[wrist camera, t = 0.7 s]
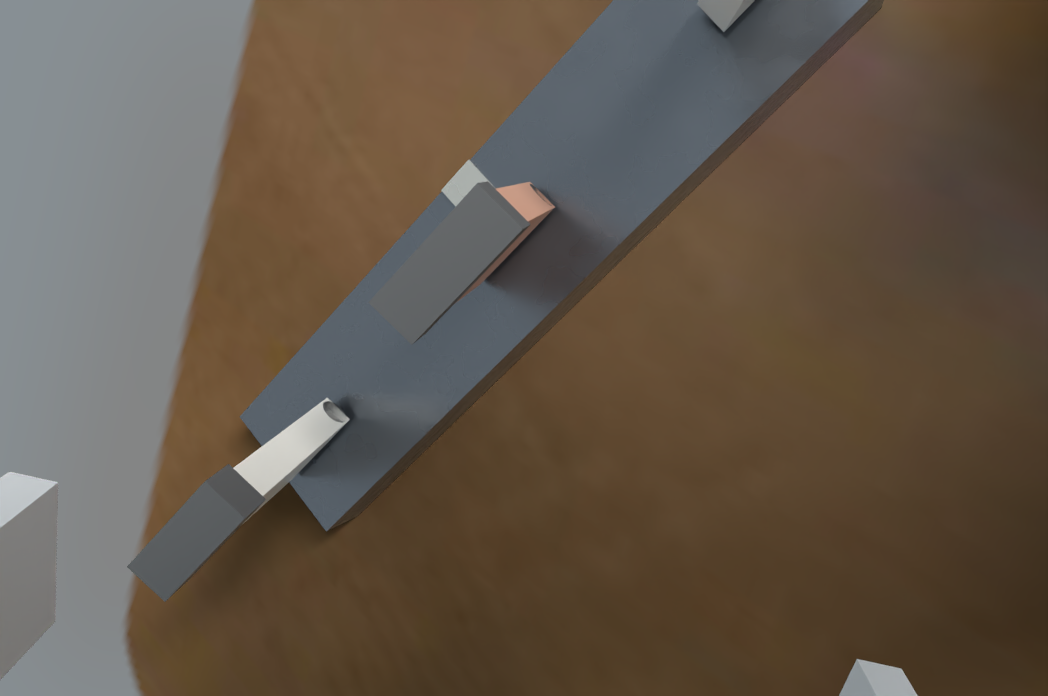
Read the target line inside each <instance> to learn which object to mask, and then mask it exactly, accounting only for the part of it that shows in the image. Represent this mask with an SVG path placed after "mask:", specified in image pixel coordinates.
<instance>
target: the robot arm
mask: <svg viewBox="0 0 1048 696" xmlns="http://www.w3.org/2000/svg"><path fill="white" fill-rule="evenodd" d="M57 509H58V482H54V481H49V480H45V479H40V478H35V477H31V476H26V475H22V474H17V473H13V472H8V473H7V474H5V475H4V476H2V477H1V478H0V680H1V679H2V678H3V677H4V676H5V674H6V673H7V672H8V671H9V670H10V669H11V668H12V667H13V666H14V665H15V664H16V663H17V662H18V661H19V660H20V659H21V657H22V656H23V655H24V654H25V653H26V652H27V651H28V650H29V649H30V648H31V647H32V646H33V645H34V644H35V643H36V642H37V641H38V639H39V638H40V637H41V636H42V635H43V634H44V633H45V632H46V631H47V630H48V629H49V628H50V627H51V626H52V625H53V624H54V622H55V607H56V559H57V557H56V556H57ZM839 696H917V694H916V692H915V690H914V689H913V687H912V685H911V684H910V682H909V680H908V679H907V677H906V675H905V674H904V672H903V670H902V669H901V668H896V667H891V666H887V665H882V664H878V663H873V662H869V661H864V660H860V659H857V660H856V662H855V664H854V666H853V668H852V670H851V672H850V674H849V676H848V678H847V680H846V682H845V684H844V687H843V689H842V691H841V693H840V695H839Z"/></svg>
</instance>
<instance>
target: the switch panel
mask: <svg viewBox="0 0 1048 696" xmlns="http://www.w3.org/2000/svg"><path fill="white" fill-rule="evenodd" d="M883 1H884V0H755V1H754V2H753V3H752V4H751V5H750V6H749V7H748V8H747V9H746V10H745V11H744V12H743V13H742V14H741V15H740V16H739V17H738V18H737V19H736V20H735V21H734V22H733V24H732V25H731V26H730V27H729V28H728V29H727V30H726V31H725V32H723V31H722V30H721V29H720V28H719V27H718V26H717V25H716V24H715V23H714V22H713V21H712V20H711V19H710V18H709V17H708V16H707V15H706V14H705V13H704V11H703V10H702V9H701V8H700V7H699V6H698V5H697V3H698V0H613V1H612V2H611V4H610V5H609V6H608V7H607V8H606V9H605V10H604V11H603V12H602V14H601V15H600V16H599V17H598V18H597V19H596V20H595V21H594V23H593V24H592V25H591V26H590V27H589V28H588V29H587V30H586V31H585V33H584V34H583V35H582V36H581V37H580V38H579V39H578V40H577V41H576V43H575V44H574V45H573V46H572V47H571V48H570V49H569V50H568V51H567V53H566V54H565V55H564V56H563V57H562V58H561V59H560V60H559V62H558V63H557V64H556V65H555V66H554V67H553V68H552V69H551V70H550V72H549V73H548V74H547V75H546V76H545V77H544V78H543V79H542V80H541V82H540V83H539V84H538V85H537V86H536V87H535V88H534V89H533V90H532V92H531V93H530V94H529V95H528V96H527V97H526V98H525V99H524V101H523V102H522V103H521V104H520V105H519V106H518V107H517V108H516V109H515V111H514V112H513V113H512V114H511V115H510V116H509V117H508V118H507V119H506V121H505V122H504V123H503V124H502V125H501V126H500V127H499V128H498V129H497V131H496V132H495V133H494V134H493V135H492V136H491V137H490V138H489V140H488V141H487V142H486V143H485V144H484V145H483V146H482V147H481V148H480V150H479V151H478V152H477V153H476V154H475V155H474V156H473V157H472V158H471V160H468V161H467V162H466V163H465V164H464V165H463V166H462V168H461V169H460V170H459V171H458V172H457V173H456V174H455V175H454V177H453V178H452V179H451V180H450V181H449V182H448V183H447V184H446V185H445V187H444V188H443V189H442V190H441V191H442V192H441V193H440V194H439V195H438V196H437V197H436V199H435V200H434V201H433V202H432V203H431V204H430V205H429V206H428V207H427V209H426V210H425V211H424V212H423V213H422V214H421V215H420V216H419V218H418V219H417V220H416V221H415V222H414V223H413V224H412V225H411V226H410V228H409V229H408V230H407V231H406V232H405V233H404V234H403V235H402V236H401V238H400V239H399V240H398V241H397V242H396V243H395V244H394V245H393V246H392V248H391V249H390V250H389V251H388V252H387V253H386V254H385V255H384V257H383V258H382V259H381V260H380V261H379V262H378V263H377V264H376V265H375V267H374V268H373V269H372V270H371V271H370V272H369V273H368V274H367V275H366V277H365V278H364V279H363V280H362V281H361V282H360V283H359V284H358V285H357V287H356V288H355V289H354V290H353V291H352V292H351V293H350V294H349V296H348V297H347V298H346V299H345V300H344V301H343V302H342V303H341V304H340V306H339V307H338V308H337V309H336V310H335V311H334V312H333V313H332V314H331V316H330V317H329V318H328V319H327V320H326V321H325V322H324V323H323V324H322V326H321V327H320V328H319V329H318V330H317V331H316V332H315V333H314V335H313V336H312V337H311V338H310V339H309V340H308V341H307V342H306V343H305V345H304V346H303V347H302V348H301V349H300V350H299V351H298V352H297V353H296V355H295V356H294V357H293V358H292V359H291V360H290V361H289V362H288V363H287V365H286V366H285V367H284V368H283V369H282V370H281V371H280V372H279V374H278V375H277V376H276V377H275V378H274V379H273V380H272V381H271V382H270V384H269V385H268V386H267V387H266V388H265V389H264V390H263V391H262V392H261V394H260V395H259V396H258V397H257V398H256V399H255V400H254V401H253V403H252V404H251V405H250V406H249V407H248V408H247V409H246V410H245V411H244V413H243V414H242V415H241V416H240V418H241V419H242V420H243V422H244V423H245V424H246V426H247V427H248V428H249V430H250V431H251V432H252V434H253V435H254V436H255V438H256V439H257V440H258V442H259V443H260V444H261V446H263V445H265V444H266V443H267V442H269V441H270V440H271V439H273V438H274V437H275V436H277V435H278V434H279V433H281V432H282V431H283V430H285V429H286V428H287V427H289V426H290V425H291V424H293V423H294V422H295V421H297V420H298V419H299V418H301V417H302V416H303V415H305V414H306V413H307V412H309V411H310V410H311V409H313V408H314V407H315V406H317V405H318V404H319V403H321V402H322V401H323V400H325V399H326V398H328V399H329V400H330V401H331V402H333V403H335V404H337V405H338V406H339V407H340V408H341V409H342V410H343V411H344V413H345V415H346V416H347V417H348V418H349V419H350V420H349V421H348V422H347V423H346V424H345V425H344V426H343V427H342V428H341V429H340V430H339V431H338V432H337V433H336V434H335V435H334V437H333V438H332V439H331V440H330V441H329V442H328V443H327V444H326V445H325V446H324V447H323V448H322V449H321V450H320V451H319V452H318V453H317V454H316V455H315V456H314V457H313V458H312V459H311V460H310V461H309V462H308V463H307V464H306V466H305V467H304V468H303V469H302V470H301V471H300V472H299V473H298V474H297V475H296V476H295V477H294V478H293V479H292V480H291V481H290V482H289V483H290V484H291V485H292V487H293V488H294V489H295V491H296V492H297V493H298V495H299V496H300V497H301V499H302V500H303V501H304V503H305V504H306V505H307V507H308V508H309V509H310V511H311V512H312V513H313V515H314V516H315V517H316V518H317V520H318V521H319V522H320V524H321V525H322V526H323V528H324V529H325V530H326V531H328V530H331V529H333V528H335V527H337V526H339V525H341V524H343V523H345V522H347V521H349V520H351V519H353V518H355V517H357V516H358V515H359V514H360V513H361V512H362V511H363V510H364V509H365V508H367V507H368V506H369V505H370V504H371V503H372V502H373V501H374V500H375V499H376V498H377V497H378V496H379V495H380V494H381V493H382V492H383V491H384V490H385V489H386V488H387V487H388V486H389V485H390V484H391V483H392V482H393V481H394V480H395V479H396V478H397V477H398V476H399V475H401V474H402V473H403V472H404V471H405V470H406V469H407V468H408V467H409V466H410V465H411V464H412V463H413V462H414V461H415V460H416V459H417V458H418V457H419V456H420V455H421V454H422V453H423V452H424V451H425V450H426V449H427V448H428V447H429V446H430V445H431V444H432V443H433V442H435V441H436V440H437V439H438V438H439V437H440V436H441V435H442V434H443V433H444V432H445V431H446V430H447V429H448V428H449V427H450V426H451V425H452V424H453V423H454V422H455V421H456V420H457V419H458V418H459V417H460V416H461V415H462V414H463V413H464V412H465V411H466V410H467V409H469V408H470V407H471V406H472V405H473V404H474V403H475V402H476V401H477V400H478V399H479V398H480V397H481V396H482V395H483V394H484V393H485V392H486V391H487V390H488V389H489V388H490V387H491V386H492V385H493V384H494V383H495V382H496V381H497V380H498V379H499V378H500V377H501V376H503V375H504V374H505V373H506V372H507V371H508V370H509V369H510V368H511V367H512V366H513V365H514V364H515V363H516V362H517V361H518V360H519V359H520V358H521V357H522V356H523V355H524V354H525V353H526V352H527V351H528V350H529V349H530V348H531V347H532V346H533V345H534V344H535V343H537V342H538V341H539V340H540V339H541V338H542V337H543V336H544V335H545V334H546V333H547V332H548V331H549V330H550V329H551V328H552V327H553V326H554V325H555V324H556V323H557V322H558V321H559V320H560V319H561V318H562V317H563V316H564V315H565V314H566V313H567V312H568V311H569V310H571V309H572V308H573V307H574V306H575V305H576V304H577V303H578V302H579V301H580V300H581V299H582V298H583V297H584V296H585V295H586V294H587V293H588V292H589V291H590V290H591V289H592V288H593V287H594V286H595V285H596V284H597V283H598V282H599V281H600V280H601V279H602V278H603V277H605V276H606V275H607V274H608V273H609V272H610V271H611V270H612V269H613V268H614V267H615V266H616V265H617V264H618V263H619V262H620V261H621V260H622V259H623V258H624V257H625V256H626V255H627V254H628V253H629V252H630V251H631V250H632V249H633V248H634V247H635V246H636V245H637V244H639V243H640V242H641V241H642V240H643V239H644V238H645V237H646V236H647V235H648V234H649V233H650V232H651V231H652V230H653V229H654V228H655V227H656V226H657V225H658V224H659V223H660V222H661V221H662V220H663V219H664V218H665V217H666V216H667V215H668V214H669V213H670V212H672V211H673V210H674V209H675V208H676V207H677V206H678V205H679V204H680V203H681V202H682V201H683V200H684V199H685V198H686V197H687V196H688V195H689V194H690V193H691V192H692V191H693V190H694V189H695V188H696V187H697V186H698V185H699V184H700V183H701V182H702V181H703V180H704V179H706V178H707V177H708V176H709V175H710V174H711V173H712V172H713V171H714V170H715V169H716V168H717V167H718V166H719V165H720V164H721V163H722V162H723V161H724V160H725V159H726V158H727V157H728V156H729V155H730V154H731V153H732V152H733V151H734V150H735V149H736V148H737V147H738V146H740V145H741V144H742V143H743V142H744V141H745V140H746V139H747V138H748V137H749V136H750V135H751V134H752V133H753V132H754V131H755V130H756V129H757V128H758V127H759V126H760V125H761V124H762V123H763V122H764V121H765V120H766V119H767V118H768V117H769V116H770V115H771V114H772V113H774V112H775V111H776V110H777V109H778V108H779V107H780V106H781V105H782V104H783V103H784V102H785V101H786V100H787V99H788V98H789V97H790V96H791V95H792V94H793V93H794V92H795V91H796V90H797V89H798V88H799V87H800V86H801V85H802V84H803V83H804V82H805V81H806V80H808V79H809V78H810V77H811V76H812V75H813V74H814V73H815V72H816V71H817V70H818V69H819V68H820V67H821V66H822V65H823V64H824V63H825V62H826V61H827V60H828V59H829V58H830V57H831V56H832V55H833V54H834V53H835V52H836V51H837V50H838V49H839V48H840V47H842V46H843V45H844V44H845V43H846V42H847V41H848V40H849V39H850V38H851V37H852V36H853V35H854V34H855V33H856V32H857V31H858V30H859V29H860V28H861V27H862V26H863V25H864V24H865V23H866V22H867V21H868V20H869V19H870V18H871V17H872V16H873V15H874V14H876V13H877V12H878V11H879V10H880V9H881V7H882V4H883ZM487 181H488V182H489V183H490V184H491V185H492V186H493V187H494V188H495V189H496V188H501V187H506V186H511V185H516V184H521V183H526V182H531V183H532V184H533V185H534V186H535V187H536V188H537V189H538V190H539V191H540V192H542V193H543V194H544V196H545V197H546V198H547V199H548V200H549V201H550V202H551V203H552V204H553V205H554V206H555V208H554V209H553V210H552V211H551V212H550V213H549V214H548V215H547V216H546V217H545V218H544V219H543V220H542V221H541V222H540V223H539V224H538V225H537V226H536V227H535V228H534V229H533V231H532V232H531V233H530V234H529V235H528V236H527V237H526V238H525V239H524V240H523V241H522V242H521V243H520V244H519V245H518V246H517V247H516V248H515V249H514V250H513V251H512V252H511V253H510V254H509V255H508V256H507V257H506V258H505V260H504V261H503V262H502V263H501V264H500V265H499V266H498V267H497V268H496V269H495V270H494V271H493V272H492V273H491V274H490V275H489V276H488V277H487V278H486V279H485V280H484V281H483V282H482V283H481V284H480V285H479V286H477V287H476V288H475V289H473V290H472V291H471V292H470V293H468V294H467V295H466V296H464V297H463V298H462V299H460V300H459V301H458V302H456V303H455V304H454V305H453V306H452V307H451V308H450V309H449V310H448V311H447V312H446V313H445V314H444V315H443V316H442V317H441V318H440V319H439V320H438V321H437V323H436V324H435V325H434V326H433V327H432V328H431V329H430V330H429V331H428V332H427V333H426V334H425V335H424V336H422V337H421V338H420V339H419V340H417V341H416V342H415V343H413V344H412V345H411V344H410V343H409V342H408V341H407V340H406V339H405V338H404V337H403V336H402V335H401V334H400V333H399V332H398V331H397V330H396V329H395V328H394V327H393V326H392V325H391V324H390V323H389V322H388V321H387V320H386V319H385V318H384V317H383V316H382V315H381V314H380V313H379V312H378V311H377V310H376V309H375V308H373V307H372V306H371V305H370V304H369V303H368V302H369V301H370V300H371V299H372V298H373V297H374V296H375V295H376V293H377V292H378V291H379V290H380V289H381V288H382V287H383V286H384V285H385V284H386V282H387V281H388V280H389V279H390V278H391V277H392V276H393V275H394V274H395V273H396V272H397V270H398V269H399V268H400V267H401V266H402V265H403V264H404V263H405V262H406V261H407V259H408V258H409V257H410V256H411V255H412V254H413V253H414V252H415V251H416V250H417V249H418V247H419V246H420V245H421V244H422V243H423V242H424V241H425V240H426V239H427V238H428V236H429V235H430V234H431V233H432V232H433V231H434V230H435V229H436V228H437V227H438V225H439V224H440V223H441V222H442V221H443V220H444V219H445V218H446V217H447V216H448V215H449V213H450V212H451V211H452V210H453V209H454V208H455V207H456V206H457V205H458V204H459V202H460V201H461V200H462V199H463V198H464V197H465V196H466V195H467V194H468V193H469V191H470V190H471V189H472V188H473V187H474V186H475V185H476V184H477V183H480V182H487Z"/></svg>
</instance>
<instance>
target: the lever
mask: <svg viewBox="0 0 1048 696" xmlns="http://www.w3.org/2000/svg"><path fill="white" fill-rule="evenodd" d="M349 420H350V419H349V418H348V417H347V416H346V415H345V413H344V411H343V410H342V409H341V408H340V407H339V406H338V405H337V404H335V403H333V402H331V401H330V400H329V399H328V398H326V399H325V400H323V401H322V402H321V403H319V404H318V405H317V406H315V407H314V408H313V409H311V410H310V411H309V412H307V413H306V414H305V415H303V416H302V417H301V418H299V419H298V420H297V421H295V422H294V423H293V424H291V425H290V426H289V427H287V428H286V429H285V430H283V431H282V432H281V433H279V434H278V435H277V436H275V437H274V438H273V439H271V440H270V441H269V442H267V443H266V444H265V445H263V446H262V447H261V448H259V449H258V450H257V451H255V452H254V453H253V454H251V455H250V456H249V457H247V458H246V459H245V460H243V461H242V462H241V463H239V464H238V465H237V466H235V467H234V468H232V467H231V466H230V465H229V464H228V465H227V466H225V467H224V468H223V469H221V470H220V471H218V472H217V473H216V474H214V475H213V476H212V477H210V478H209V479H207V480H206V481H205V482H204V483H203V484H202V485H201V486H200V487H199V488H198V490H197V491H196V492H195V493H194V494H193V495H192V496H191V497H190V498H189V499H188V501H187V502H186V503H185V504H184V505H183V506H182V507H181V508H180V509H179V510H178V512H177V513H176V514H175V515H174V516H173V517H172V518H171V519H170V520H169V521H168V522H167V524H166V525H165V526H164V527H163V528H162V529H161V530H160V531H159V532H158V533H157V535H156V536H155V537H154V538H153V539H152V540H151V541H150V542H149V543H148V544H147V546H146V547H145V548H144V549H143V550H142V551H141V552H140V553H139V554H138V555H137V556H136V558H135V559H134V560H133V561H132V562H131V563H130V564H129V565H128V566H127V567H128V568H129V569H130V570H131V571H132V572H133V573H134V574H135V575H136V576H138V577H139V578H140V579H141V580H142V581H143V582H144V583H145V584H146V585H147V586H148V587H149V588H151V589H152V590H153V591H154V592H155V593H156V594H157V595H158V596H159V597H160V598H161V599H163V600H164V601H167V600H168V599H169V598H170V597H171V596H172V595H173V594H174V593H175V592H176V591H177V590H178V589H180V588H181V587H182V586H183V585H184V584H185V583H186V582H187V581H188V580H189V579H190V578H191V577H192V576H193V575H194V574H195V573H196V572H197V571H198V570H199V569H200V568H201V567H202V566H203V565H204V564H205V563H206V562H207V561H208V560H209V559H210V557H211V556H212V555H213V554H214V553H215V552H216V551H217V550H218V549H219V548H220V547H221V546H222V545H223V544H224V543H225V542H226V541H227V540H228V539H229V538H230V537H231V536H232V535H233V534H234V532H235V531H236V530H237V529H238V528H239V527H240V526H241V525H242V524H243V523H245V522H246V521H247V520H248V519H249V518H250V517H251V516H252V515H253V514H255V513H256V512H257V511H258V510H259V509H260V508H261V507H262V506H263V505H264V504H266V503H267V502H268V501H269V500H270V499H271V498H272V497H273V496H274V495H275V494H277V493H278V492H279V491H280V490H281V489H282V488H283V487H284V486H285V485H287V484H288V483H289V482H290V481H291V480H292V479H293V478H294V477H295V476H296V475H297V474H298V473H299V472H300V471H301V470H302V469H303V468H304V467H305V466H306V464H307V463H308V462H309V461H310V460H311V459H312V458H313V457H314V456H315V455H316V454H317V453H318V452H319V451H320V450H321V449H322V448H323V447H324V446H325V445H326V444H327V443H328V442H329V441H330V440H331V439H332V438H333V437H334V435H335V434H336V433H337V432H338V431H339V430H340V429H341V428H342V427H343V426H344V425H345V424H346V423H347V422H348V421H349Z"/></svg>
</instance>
